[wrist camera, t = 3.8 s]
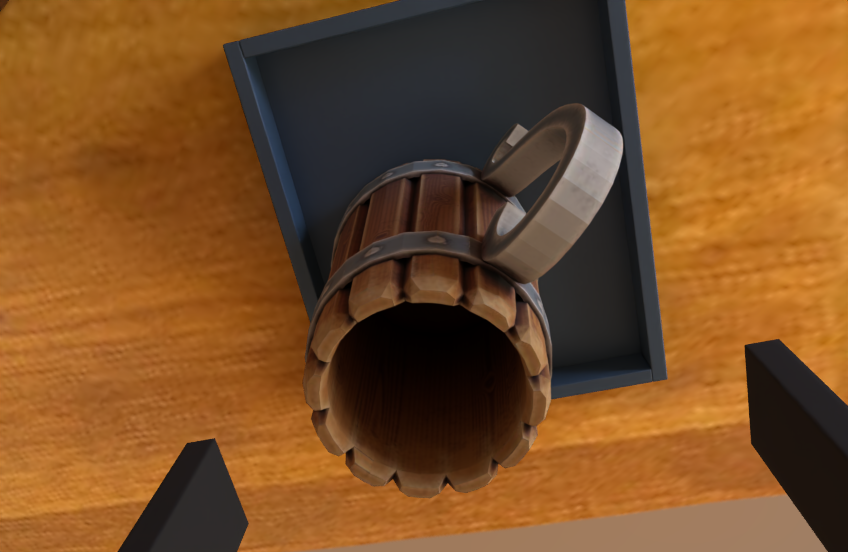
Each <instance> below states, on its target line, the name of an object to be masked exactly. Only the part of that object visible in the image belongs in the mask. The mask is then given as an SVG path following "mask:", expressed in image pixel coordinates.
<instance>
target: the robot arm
mask: <svg viewBox="0 0 848 552" xmlns="http://www.w3.org/2000/svg"><path fill="white" fill-rule="evenodd" d="M8 1H9V0H0V11H1V10H2V9H3V7H4V6H5V5H6V3H7V2H8ZM745 359H746V374H747V388H748V403H749V418H750V432H751V444H752V445H753V447H754V448H755V450H756V451H757V452H758V454H759V455H760V457H761V458H762V459H763V461H764V462H765V464H766V465H767V466H768V468H769V469H770V471H771V472H772V474H773V475H774V476H775V478H776V479H777V481H778V482H779V483H780V485H781V486H782V488H783V489H784V490H785V492H786V493H787V495H788V496H789V497H790V499H791V500H792V501H793V503H794V505H795V506H796V507H797V509H798V510H799V512H800V513H801V514H802V516H803V517H804V519H805V520H806V521H807V523H808V524H809V526H810V527H811V528H812V530H813V531H814V533H815V534H816V536H817V537H818V538H819V540H820V541H821V543H822V544H823V545H824V547H825V548H826V550H827V551H828V552H848V406H847V405H846V404H845V403H844V402H843V401H842V400H841V399H840V398H839V397H838V396H837V395H836V394H835V393H834V392H833V391H832V390H831V389H830V388H829V387H828V386H827V385H826V384H825V383H824V382H823V381H822V380H821V379H820V378H819V377H817V376H816V375H815V374H814V373H813V372H812V371H811V370H810V369H809V368H808V367H807V366H806V365H805V364H804V363H803V362H802V361H801V360H800V359H799V358H798V357H797V356H796V355H795V354H794V353H793V352H792V351H791V350H790V349H789V348H788V347H786V346H785V345H784V344H783V343H782V342H781V341H780V340H779V339H776V340H770V341H765V342H759V343H753V344H748V345H745ZM248 524H249V523H248V521H247V518H246V516H245V513H244V511H243V508H242V506H241V503H240V501H239V498H238V496H237V493H236V490H235V488H234V485H233V483H232V480H231V478H230V475H229V473H228V470H227V468H226V465H225V463H224V460H223V458H222V455H221V453H220V450H219V447H218V445H217V442H216V440H215V438H214V439H208V440H203V441H197V442H191V443H187V444H186V446H185V447H184V449H183V450H182V452H181V453H180V455H179V456H178V458H177V460H176V461H175V463H174V464H173V466H172V467H171V469H170V471H169V472H168V474H167V475H166V477H165V478H164V480H163V482H162V483H161V485H160V486H159V488H158V489H157V491H156V493H155V494H154V496H153V497H152V499H151V500H150V502H149V503H148V505H147V507H146V508H145V510H144V511H143V513H142V514H141V516H140V518H139V519H138V521H137V522H136V524H135V525H134V527H133V529H132V530H131V532H130V533H129V535H128V536H127V538H126V539H125V541H124V543H123V544H122V546H121V547H120V549H119V550H118V552H237V550H238V548H239V545H240V543H241V541H242V538H243V536H244V533H245V531H246V528H247V526H248Z"/></svg>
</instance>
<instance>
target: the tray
mask: <svg viewBox="0 0 848 552" xmlns="http://www.w3.org/2000/svg"><path fill="white" fill-rule="evenodd" d="M223 48H224V51H225V54H226V57H227V60H228V63H229V67H230V70H231V73H232V76H233V79H234V82H235V86H236V89H237V92H238V95H239V98H240V101H241V105H242V108H243V111H244V114H245V117H246V120H247V124H248V127H249V130H250V133H251V136H252V139H253V143H254V146H255V149H256V152H257V155H258V158H259V162H260V165H261V168H262V171H263V174H264V177H265V181H266V184H267V187H268V190H269V193H270V196H271V200H272V203H273V206H274V209H275V212H276V215H277V219H278V222H279V225H280V228H281V231H282V234H283V238H284V241H285V244H286V247H287V250H288V253H289V257H290V260H291V263H292V266H293V269H294V272H295V276H296V279H297V282H298V285H299V288H300V291H301V295H302V298H303V301H304V304H305V307H306V310H307V314H308V317H309V320H310V323H311V320H312V317H313V313H314V310H315V307H316V305H317V303H318V300H319V298H320V296H321V294H322V292H323V290H324V287H325V285H326V283H327V281H328V278H329V275H330V271H331V260H332V254H333V247H334V240H335V237H336V233H337V230H338V227H339V225H340V223H341V221H342V219H343V216H344V214H345V212H346V210H347V208H348V206H349V204H350V203H351V202H352V201H353V200H354V198H355V197H356V196H357V195H358V194H359V193H360V191H361V190H362V189H363V188H364V187H365V186H366V185H367V184H369V183H370V182H372V181H373V180H375V178H377V177H379V176H380V175H382V174H383V173H385V172H386V171H388V170H390V169H392V168H395V167H398V166H400V165H403V164H405V163H411V162H416V161H423V160H424V159H445V160H451V161H458V162H461V164H466V165H470V166H472V167H474V168H475V167H476V168H478V169H480V170H483V168H484V166H485V164H486V162H487V160H488V158H489V157H490V155H491V153H492V152H493V150H494V149H495V147H496V146H497V144H498V143H499V141H500V140H501V139H502V137H503V136H504V135H505V134H506V132H507V131H508V130H509V129H510V128H511V127H512V126H513V125H514V124H516V123H517V124H519V125H520V126H522V127H523V128H525V129H526V130H528V131H529V130H531V129H532V128H533V127H534V126H535V125H536V124H537V123H538V122H540V121H541V120H542V119H543V118H544V117H546V116H547V115H548V114H550V113H551V112H552V111H554V110H556V109H557V108H559V107H561V106H564V105H567V104H574V103H579V104H582V105H583V106H585V107H586V108H588V109H589V110H590V111H592V112H593V113H595V114H596V115H597V116H599V117H600V118H602V119H603V120H604V121H606V122H607V123H609V124H610V125H611V126H613V127H614V128H616V129H617V130H618V131H619V132H620V133H621V136H622V138H623V152H622V158H621V162H620V166H619V169H618V172H617V174H616V177H615V179H614V182H613V185H612V187H611V188H610V190H609V192H608V194H607V196H606V198H605V200H604V202H603V204H602V205H601V207H600V209H599V210H598V212H597V213H596V215H595V216H594V218H593V219H592V221H591V222H590V224H589V225H588V227H587V228H586V229H585V230H584V232H583V233H582V234H581V236H580V237H579V238H578V239H577V241H576V242H575V243H574V245H573V246H572V247H571V248H570V249H569V250H568V251H567V252H566V254H565V255H564V256H563V257H562V258H561V259H560V260H559V261H558V262H557V263H556V264H555V265H554V266H553V267H552V268H551V269H550V270H548V271H547V272H546V273H545V274H544V275H543V276H541V277H539V278H538V289H539V296H540V298H541V301H542V304H543V308H544V311H545V314H546V317H547V321H548V324H549V330H550V336H551V343H552V377H551V399H556V398H562V397H568V396H574V395H579V394H585V393H591V392H597V391H603V390H608V389H614V388H620V387H626V386H631V385H637V384H643V383H649V382H652V381H653V382H655V381H660V380H666V379H667V369H666V360H665V351H664V342H663V333H662V324H661V316H660V307H659V298H658V289H657V280H656V271H655V262H654V253H653V244H652V236H651V227H650V218H649V209H648V200H647V191H646V182H645V173H644V164H643V156H642V147H641V138H640V129H639V120H638V111H637V102H636V93H635V84H634V76H633V67H632V58H631V49H630V40H629V31H628V22H627V13H626V5H625V0H399V1H395V2H391V3H387V4H383V5H379V6H375V7H371V8H367V9H363V10H359V11H355V12H351V13H347V14H343V15H339V16H335V17H331V18H327V19H323V20H319V21H315V22H311V23H307V24H303V25H299V26H295V27H291V28H287V29H283V30H279V31H275V32H271V33H267V34H263V35H259V36H255V37H251V38H247V39H243V40H240V41H235V42H231V43H227V44H224V45H223ZM559 162H560V160H559V161H558V162H556V163H555V164H554V165H552V166H551V167H550V168H548V169H547V170H546V171H545V172H544V173H542V174H541V175H540V176H539V177H538V178H536V179H535V180H534V181H533V182H532V183H530V184H529V185H528V186H527V187H526V188H524V189H523V190H522V191H520V192H519V193H518V194H516V195H515V197H516V198H517V200H518V202H519V203H520V205H521V206H522V208H523V209H524V211H525V212H526V214H527V212H528V211H529V210H530V209H531V208H532V206H533V205H534V204H535V202H536V201H537V199H538V198H539V197H540V195H541V194H542V193H543V191H544V189H545V188H546V186H547V185H548V183H549V182H550V180H551V178H552V176H553V175H554V173H555V171H556V169H557V167H558V165H559Z"/></svg>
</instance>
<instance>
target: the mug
mask: <svg viewBox="0 0 848 552" xmlns="http://www.w3.org/2000/svg"><path fill="white" fill-rule="evenodd" d="M622 152H623V138H622V136H621V133H620V132H619V131H618V130H617V129H616V128H614V127H613V126H611V125H610V124H609V123H607V122H606V121H604V120H603V119H602V118H600V117H599V116H597V115H596V114H595V113H593V112H592V111H590V110H589V109H588V108H586V107H585V106H583V105H582V104H579V103H574V104H567V105H564V106H561V107H559V108H557V109H556V110H554V111H552V112H551V113H550V114H548V115H547V116H546V117H544V118H543V119H542V120H541V121H540V122H538V123H537V124H536V125H535V126H534V127H533V128H532V129H531V130H529V131H528V130H526V129H525V128H523V127H522V126H520V125H519V124H517V123H516V124H514V125H513V126H512V127H511V128H510V129H509V130H508V131H507V132H506V134H505V135H504V136H503V137H502V139H501V140H500V141H499V143H498V144H497V146H496V147H495V149H494V150H493V152H492V153H491V155H490V157H489V158H488V160H487V162H486V164H485V166H484V168H483V170H480V169H478V168H476V167H475V168H474V167H472V166H470V165H466V164H461V162H458V161H451V160H445V159H424V160H423V161H416V162H411V163H405V164H403V165H400V166H398V167H395V168H392V169H390V170H388V171H386V172H385V173H383V174H382V175H380V176H379V177H377V178H375V180H373V181H372V182H370V183H369V184H367V185H366V186H365V187H364V188H363V189H362V190H361V191H360V193H359V194H358V195H357V196H356V197H355V198H354V200H353V201H352V202H351V203H350V204H349V206H348V208H347V210H346V212H345V214H344V216H343V219H342V221H341V223H340V225H339V227H338V230H337V233H336V237H335V240H334V247H333V254H332V260H331V271H330V275H329V278H328V281H327V283H326V285H325V287H324V290H323V292H322V294H321V296H320V298H319V300H318V303H317V305H316V307H315V310H314V313H313V317H312V320H311V323H310V327H309V332H308V339H307V346H306V353H305V362H306V365H305V371H304V378H303V388H304V394H305V400H306V403H307V404H308V405H309V406H310V407H311V408H312V409H313V413H312V417H311V420H312V422H313V425H314V427H315V430H316V433H317V435H318V437H319V438H320V440H321V442H322V443H323V445H324V446H325V448H326V449H327V450H328V452H329V453H332V454H334V455H337V456H340V455H342V454H344V453H346V465H347V466H348V468H349V469H350V471H351V472H352V473H353V475H354V476H356V477H357V478H359V479H361V480H362V481H364V482H366V483H368V484H370V485H372V486H385V485H386V484H387V483H388V482H390V481H391V480H392V479H393V480H394V481H395V483H396V485H397V486H398V488H399V490H400V491H401V492H403V493H404V494H405V495H407V496H408V497H417V498H432V497H434V496H436V495H437V494H439V493H440V492H441V491H442V489H443V488H444V487H445V486H446V484H447V483H449V485H450V486H451V487H452V488H453V489H454V490H455V491H458V492H463V493H468V492H471V491H474V490H477V489H479V488H481V487H484V486H486V485H488V483H489V482H490V481H491V480H492V479H493V478H494V477H495V476H496V475H497V470H498V464H500V465H501V466H502V467H504V468H508V467H512V466H516V464H517V463H518V462H519V461H520V460H521V459H522V458H523V457H524V456H525V455H526V453H527V452H528V451H529V449H530V448H531V446H532V444H533V442H534V440H535V439H536V437H537V435H538V434H537V425H538V424H539V423H541V422H542V421H543V420H545V418H546V415H547V411H548V408H549V405H550V402H551V377H552V343H551V336H550V330H549V324H548V321H547V317H546V314H545V311H544V308H543V304H542V301H541V298H540V296H539V289H538V278H539V277H541V276H543V275H544V274H545V273H546V272H547V271H548V270H550V269H551V268H552V267H553V266H554V265H555V264H556V263H557V262H558V261H559V260H560V259H561V258H562V257H563V256H564V255H565V254H566V252H567V251H568V250H569V249H570V248H571V247H572V246H573V245H574V243H575V242H576V241H577V239H578V238H579V237H580V236H581V234H582V233H583V232H584V230H585V229H586V228H587V227H588V225H589V224H590V222H591V221H592V219H593V218H594V216H595V215H596V213H597V212H598V210H599V209H600V207H601V205H602V204H603V202H604V200H605V198H606V196H607V194H608V192H609V190H610V188H611V187H612V185H613V182H614V179H615V177H616V174H617V172H618V169H619V166H620V162H621V158H622ZM559 160H560V162H559V165H558V167H557V169H556V171H555V173H554V175H553V176H552V178H551V180H550V182H549V183H548V185H547V186H546V188H545V189H544V191H543V193H542V194H541V195H540V197H539V198H538V199H537V201H536V202H535V204H534V205H533V206H532V208H531V209H530V210H529V211H528V212H527V214H526V212H525V211H524V209H523V208H522V206H521V205H520V203H519V202H518V200H517V198H516V197H515V195H516V194H518V193H519V192H520V191H522V190H523V189H524V188H526V187H527V186H528V185H529V184H530V183H532V182H533V181H534V180H535V179H536V178H538V177H539V176H540V175H541V174H542V173H544V172H545V171H546V170H547V169H548V168H550V167H551V166H552V165H554V164H555V163H556V162H558V161H559Z"/></svg>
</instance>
